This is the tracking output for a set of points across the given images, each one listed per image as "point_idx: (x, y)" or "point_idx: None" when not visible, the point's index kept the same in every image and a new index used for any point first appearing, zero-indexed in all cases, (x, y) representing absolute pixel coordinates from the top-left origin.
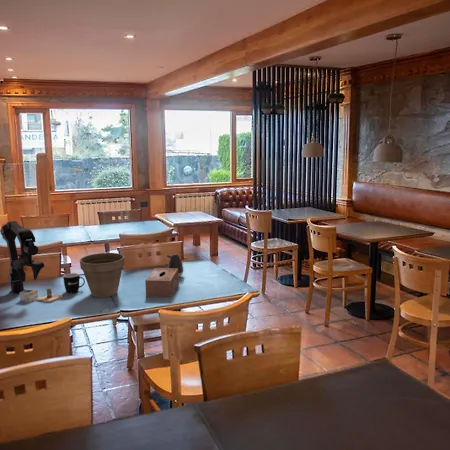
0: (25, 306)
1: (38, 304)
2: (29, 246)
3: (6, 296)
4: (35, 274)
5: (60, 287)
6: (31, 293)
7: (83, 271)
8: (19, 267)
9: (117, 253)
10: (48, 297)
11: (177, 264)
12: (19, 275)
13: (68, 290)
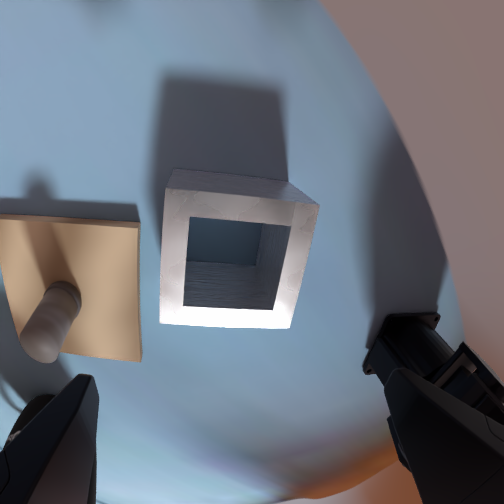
0: (140, 56)
1: (57, 141)
2: None
3: (434, 251)
4: (2, 466)
5: (183, 450)
6: (163, 226)
7: None
8: None
9: None
10: (58, 281)
11: None
12: (447, 394)
13: (43, 405)
